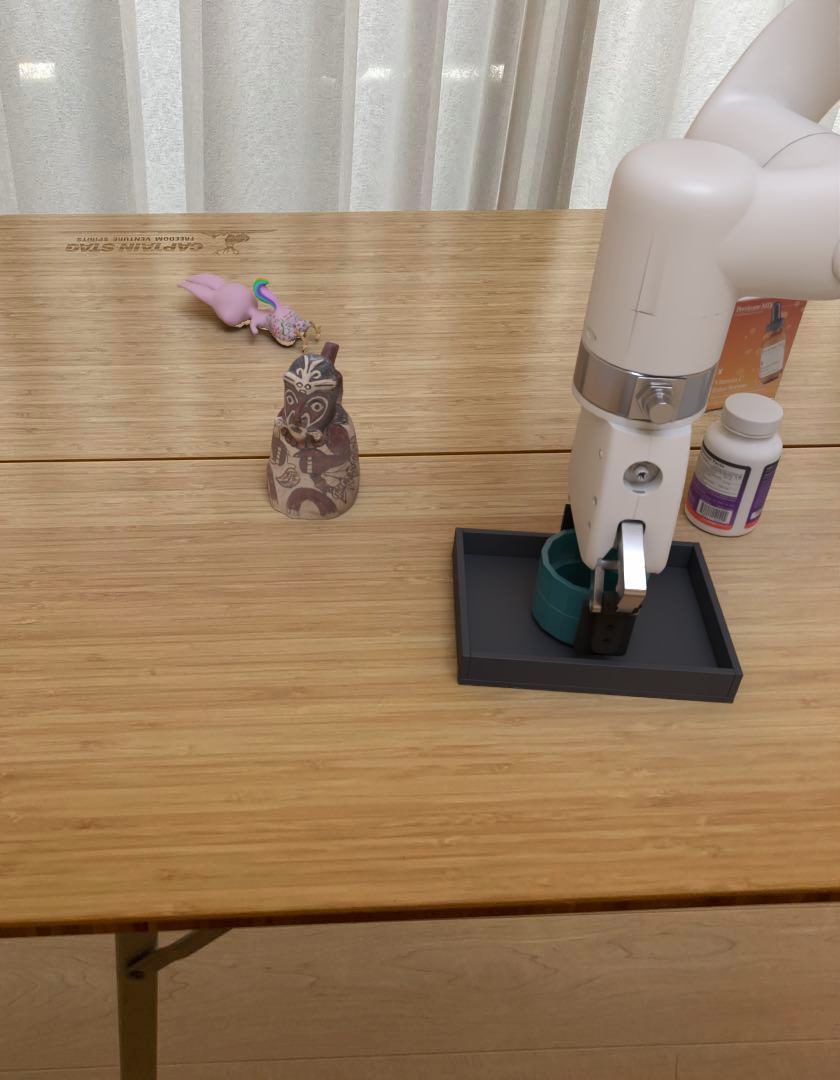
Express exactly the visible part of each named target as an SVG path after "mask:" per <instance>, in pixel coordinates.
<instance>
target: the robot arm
mask: <svg viewBox="0 0 840 1080" xmlns="http://www.w3.org/2000/svg"><path fill="white" fill-rule="evenodd" d="M839 101H840V0H793V1H792V2H791V3H789V4H788V5H787V6H786V7H785V8H784V9H782V10H781V11H780V12H779V13H778V14H776V16H775V17H774V18H773V19H771V21H770V22H769V23H768V24H767V25H765V26H764V28H763V29H762V30H761V31H760V32H759V33H758V34H757V36H756V37H755V38H754V39H753V40H752V41H751V42H750V43H749V45H748V46H747V47H746V49H745V50H744V51H743V53H742V54H741V55H740V57H739V58H738V59H737V61H736V62H735V63H734V64H733V65H732V67H731V68H730V69H729V70H728V72H727V73H726V74H725V76H724V77H723V78H722V80H721V81H720V82H719V84H718V85H717V86H716V87H715V89H714V90H713V91H712V93H710V96H709V97H708V98H707V99H706V100H705V102H704V104H703V105H702V106H701V108H700V110H699V111H698V112H697V114H696V116H695V117H694V119H693V121H692V122H691V124H690V126H689V127H688V129H687V131H686V133H685V135H684V137H683V138H666V139H657V140H652V141H648V142H644V143H642V144H641V143H640V144H639V145H637V146H635V147H634V148H632V149H631V150H629V151H627V153H626V154H625V155H624V156H623V157H622V158H621V160H620V161H619V163H618V164H617V166H616V167H615V170H614V172H613V175H612V179H611V184H610V188H609V192H608V198H607V203H606V207H605V213H604V217H603V223H602V230H601V233H600V239H599V242H598V243H599V244H598V249H597V254H596V259H595V264H594V270H593V274H592V279H591V285H590V290H589V294H588V301H587V304H586V310H585V316H584V320H583V324H582V329H581V330H582V331H581V334H580V340H579V346H578V351H577V355H576V361H575V367H574V372H573V376H572V380H571V393H572V395H573V397H574V399H575V400H576V402H577V403H579V404H580V405H581V406H580V410H579V413H578V414H579V415H578V417H577V418H578V419H577V423H576V427H575V432H574V437H573V441H572V446H571V451H570V457H569V462H568V463H569V464H568V472H567V491H568V493H567V494H568V495H567V496H568V497H567V501H568V502H569V503H565V505H564V509H563V514H562V519H561V523H560V528H559V532H560V531H563V530H568V529H573V528H575V531H576V536H577V541H578V545H579V550H580V554H581V558H582V560H583V562H584V563H585V564H586V565H587V566H588V567H589V568H590V569H591V582H590V600H584V601H583V605H582V609H581V613H580V617H579V622H578V626H577V630H576V634H575V639H574V643H573V646H574V651H575V652H576V653H578V654H589V655H605V656H623V655H625V654H626V652H627V648H628V645H629V641H630V638H631V634H632V630H633V627H634V623H635V620H636V616H638V614H639V611H640V608H642V604H641V603H642V601H643V600H644V598H645V596H646V573H654V574H659V573H660V572H662V571H663V569H664V568H665V566H666V563H667V559H668V555H669V551H670V547H671V543H672V541H673V538H674V533H675V530H676V525H677V522H678V521H677V520H678V516H679V513H680V508H681V503H682V498H683V493H684V489H685V484H686V479H687V472H688V466H689V460H690V459H689V458H690V452H691V443H692V431H693V429H692V428H693V427H692V425H693V423H696V422H697V421H698V420H699V419H701V418H702V416H704V414H705V412H706V411H705V410H706V406H707V402H708V399H709V395H710V392H711V388H712V385H713V381H714V378H715V374H716V371H717V367H718V364H719V360H720V356H721V353H722V350H723V347H724V343H725V340H726V336H727V333H728V329H729V326H730V322H731V319H732V315H733V312H734V308H735V305H736V302H737V301H738V300H739V299H741V298H743V297H766V298H780V299H792V300H805V301H807V302H826V301H836V300H840V134H839V133H837V132H835V131H833V130H832V129H829V128H827V127H825V126H823V125H821V124H819V123H820V122H821V120H822V119H824V117H825V116H826V115H827V114H828V113H829V111H830V110H831V109H832V108H833V107H834V106H835V105H837V103H838V102H839ZM610 549H617V551H618V560H603V559H602V558H604V556H605V555H606V554H607V553H608V552H609V551H610ZM645 569H646V572H645ZM604 570H611V571H618V573H619V577H618V584H617V586H616V591H608V592H604V593H603V582H604Z"/></svg>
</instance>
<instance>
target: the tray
mask: <svg viewBox="0 0 840 1080" xmlns="http://www.w3.org/2000/svg"><path fill="white" fill-rule="evenodd" d="M555 534H556V532H541V531H539V532H538V531H524V530H510V529H509V530H508V529H493V528H492V529H491V528H476V527H462V526H461V527H460V526H459V527H458V526H455V528H454V535H453V541H452V549H451V565H452V584H453V585H452V587H453V588H452V589H453V605H454V606H453V607H454V609H453V610H454V627H455V645H456V646H455V648H456V665H457V684H458V685H465V686H479V687H481V686H482V687H497V688H508V689H509V688H510V689H523V690H524V689H525V690H537V691H538V690H541V691H554V692H566V693H567V692H568V693H583V694H596V695H610V696H624V697H625V696H626V697H639V698H640V697H641V698H653V699H654V698H656V699H669V700H671V699H672V700H682V701H683V700H685V701H697V702H698V701H699V702H711V703H726V704H727V703H728V704H733V703H734V701H735V698H736V695H737V693H738V691H739V687H740V685H741V683H742V680H743V677H744V672H743V670H742V667H741V663H740V661H739V658H738V654H737V652H736V648H735V645H734V642H733V640H732V637H731V633H730V630H729V627H728V625H727V621H726V618H725V615H724V612H723V609H722V606H721V603H720V600H719V597H718V594H717V591H716V588H715V585H714V582H713V579H712V576H711V573H710V571H709V567H708V565H707V564H708V563H707V561H706V558H705V555H704V552H703V548H702V546H701V542H698V541H684V540H672V543H671V547H670V551H669V555H668V559H667V563H666V566H665V568H664V569H663V571H662V572H660V573H659V574H654V573H651V574H650V577H649V581H648V584H647V588H646V596H645V598H644V600H643V602H642V608H641V609H640V612H639V616H638V619H637V623H636V625H635V628H634V630H633V633H632V634H631V638H630V641H629V645H628V648H627V652H626V654H625V655H623V656H605V655H589V654H578V653H576V652H575V651H574V646H572V645H569V644H567V643H564V642H562V641H560V640H558V639H556V638H555V637H553V636H552V635H551V634H549V633H548V632H547V631H545V630H544V629H543V628H542V627H541V626H540V624H539V623H538V622H537V620H536V619H535V618H534V616H533V613H532V605H531V600H532V595H533V590H534V585H535V580H536V575H537V570H538V565H539V560H540V555H541V550H542V548H543V546H544V545H545V543H546V541H547V539H548V538H550V537H552V536H553V535H555Z"/></svg>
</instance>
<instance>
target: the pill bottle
mask: <svg viewBox="0 0 840 1080" xmlns="http://www.w3.org/2000/svg"><path fill="white" fill-rule="evenodd" d="M784 411H785V410H784V408H783V406H781V404H780V403H779V402H777V401H775V400H774V399H770V398H768V397H766V396H762V395H759V394H754V393H737V394H733V395H731V396H729V397H728V398H727V399H726V400H725V403H724V406H723V407H722V409H721V413H720V417H719V419H717V420H715V421H713V422H712V423H711V424H710V425H708V427H707V428H706V430H705V433H704V436H703V439H702V441H701V447H700V450H699V453H698V456H697V461H696V464H695V468H694V471H693V474H692V478H691V481H690V484H689V488H688V491H687V495H686V499H685V503H684V513H685V516H686V517H687V518H688V520H689V521H690V522H691V523H692V524H693V525H694V526H695V527H697V528H699V529H700V530H703V531H704V532H707V533H709V534H712V535H715V536H721V537H739V536H740V537H741V536H744V535H746V534H749V533H751V532H752V531H754V529H756V527H757V525H758V524H759V520H760V518H761V516H762V513H763V510H764V506H765V503H766V500H767V497H768V495H769V491H770V489H771V486H772V483H773V480H774V478H775V474H776V471H777V468H778V466H779V462H780V459H781V457H782V452H783V446H784V445H783V440H782V438H781V436H780V435H779V433H778V432H779V430H780V428H781V425H782V421H783V418H784V413H785V412H784Z"/></svg>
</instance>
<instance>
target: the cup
mask: <svg viewBox="0 0 840 1080" xmlns="http://www.w3.org/2000/svg"><path fill="white" fill-rule="evenodd" d="M555 533H556V532H555ZM602 559H603V560H618V551H617V549H610V551H609V552H608V553H607V554H606V555H605V556H604V558H602ZM645 572H646V569H645ZM650 574H651V573H646V588H647V584H648V581H649V577H650ZM618 577H619V573H618V571H611V570H604V582H603V593H604V592H608V591H616V586H617V584H618ZM590 582H591V569H590V568H589V567H588V566H587V565H586V564H585V563H584V562H583V560H582V558H581V554H580V550H579V545H578V541H577V536H576V531H575V528H573V529H568V530H563V531H560V530H559V531H558V532H557V533H556V534H555V535H553V536H552V537H550V538H548V539H547V541H546V543H545V545H544V546H543V548H542V550H541V555H540V560H539V565H538V570H537V575H536V580H535V585H534V590H533V595H532V600H531V605H532V613H533V616H534V618H535V619H536V620H537V622H538V623H539V624H540V626H541V627H542V628H543V629H544V630H545V631H547V632H548V633H549V634H551V635H552V636H553V637H555V638H556V639H558V640H560V641H562V642H564V643H567V644H569V645H572V646H573V643H574V639H575V634H576V630H577V626H578V622H579V617H580V613H581V609H582V605H583V601H584V600H590ZM642 602H643V601H642ZM641 604H642V603H641ZM640 609H641V608H640ZM639 612H640V611H639ZM638 616H639V614H638ZM638 616H636V620H635V623H634V627H633V630H634V628H635V625H636V623H637V619H638ZM633 630H632V633H633Z"/></svg>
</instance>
